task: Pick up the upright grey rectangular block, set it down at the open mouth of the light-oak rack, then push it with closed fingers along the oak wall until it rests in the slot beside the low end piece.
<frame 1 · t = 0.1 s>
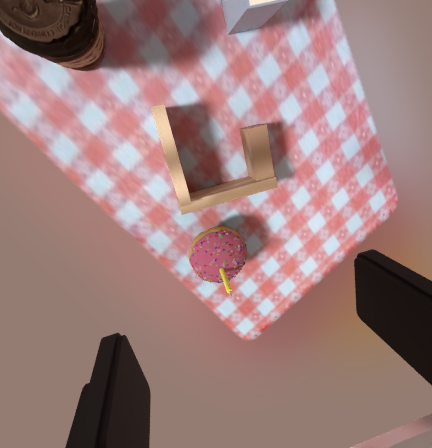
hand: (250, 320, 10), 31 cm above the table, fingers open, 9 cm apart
coffee cup: (80, 41, 32), on the table
rack: (211, 143, 38), on the table
cupcake: (211, 242, 44), on the table
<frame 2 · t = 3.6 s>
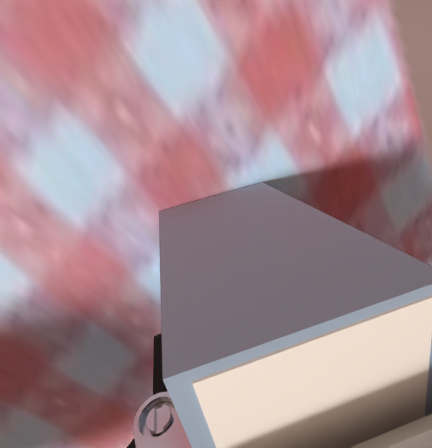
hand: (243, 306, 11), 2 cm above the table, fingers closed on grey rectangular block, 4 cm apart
grey rectangular block: (233, 285, 13), on the table, touching gripper
when the fingers open (2 cm above the table, at t = 8.1 s): grey rectangular block stays where it is, on the table.
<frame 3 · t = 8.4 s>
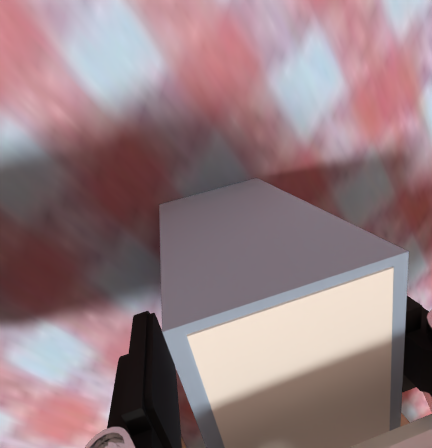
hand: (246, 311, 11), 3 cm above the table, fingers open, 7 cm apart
grey rectangular block: (229, 275, 14), on the table
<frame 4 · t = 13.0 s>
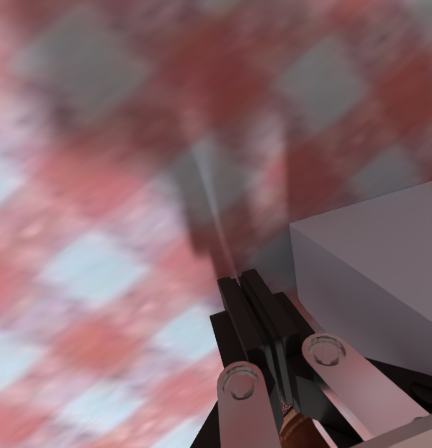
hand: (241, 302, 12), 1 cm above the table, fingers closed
coffee cup: (315, 422, 18), on the table
grey rectangular block: (373, 238, 14), on the table, touching gripper
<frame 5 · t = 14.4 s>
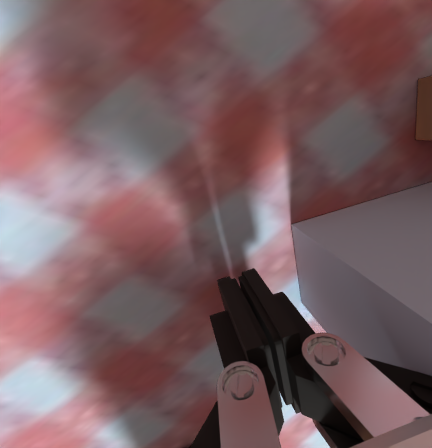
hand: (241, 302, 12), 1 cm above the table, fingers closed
rack: (428, 223, 14), on the table
grey rectangular block: (378, 239, 14), on the table, touching gripper
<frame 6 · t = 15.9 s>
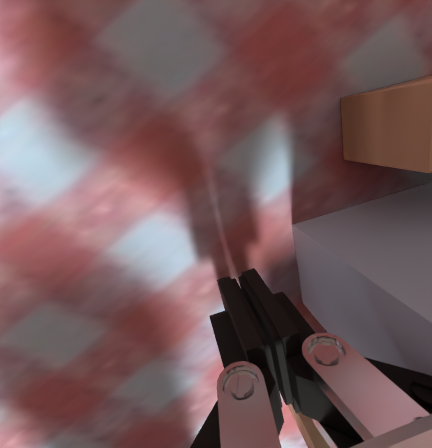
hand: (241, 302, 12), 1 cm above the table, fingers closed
rack: (366, 243, 14), on the table
grey rectangular block: (378, 239, 14), on the table
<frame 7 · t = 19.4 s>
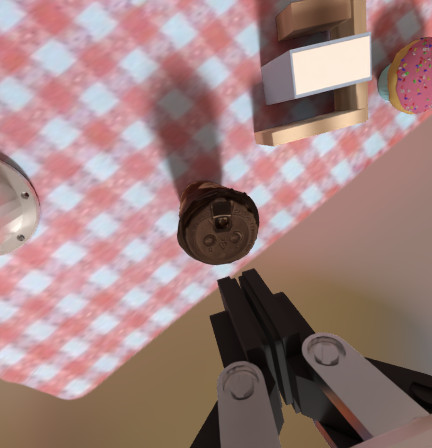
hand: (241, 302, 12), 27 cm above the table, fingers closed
coffee cup: (203, 200, 38), on the table
rack: (290, 79, 35), on the table
cupcake: (390, 83, 38), on the table
grey rectangular block: (295, 79, 35), on the table
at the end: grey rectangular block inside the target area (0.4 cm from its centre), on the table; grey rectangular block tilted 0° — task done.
